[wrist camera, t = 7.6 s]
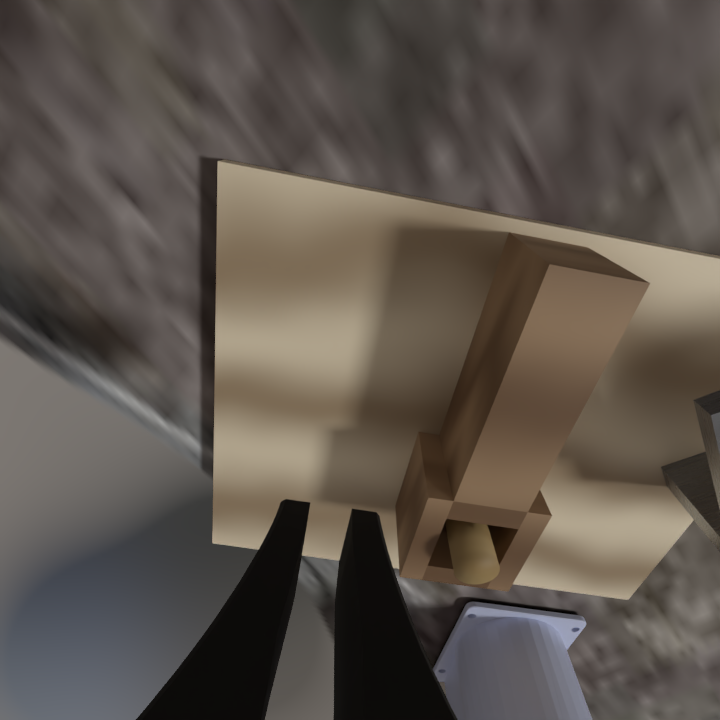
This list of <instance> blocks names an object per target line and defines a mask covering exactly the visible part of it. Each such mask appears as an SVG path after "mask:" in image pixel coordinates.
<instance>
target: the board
mask: <svg viewBox="0 0 720 720" xmlns="http://www.w3.org/2000/svg"><path fill="white" fill-rule="evenodd" d="M509 232H511V233H516V234H521V235H527V236H532V237H537V238H542V239H547V240H553V241H558V242H563V243H568V244H573V245H579V246H584V247H588V248H590V249H592V250H593V251H595V252H597V253H599V254H600V255H602V256H604V257H606V258H607V259H609V260H611V261H613V262H614V263H616V264H618V265H619V266H621V267H623V268H625V269H626V270H628V271H630V272H632V273H633V274H635V275H637V276H639V277H640V278H642V279H644V280H645V281H647V282H649V283H650V285H649V287H648V289H647V291H646V292H645V294H644V296H643V298H642V300H641V302H640V304H639V306H638V307H637V309H636V311H635V313H634V315H633V317H632V319H631V321H630V322H629V324H628V326H627V328H626V330H625V332H624V334H623V335H622V337H621V339H620V341H619V343H618V345H617V347H616V349H615V350H614V352H613V354H612V356H611V358H610V360H609V362H608V363H607V365H606V367H605V369H604V371H603V373H602V375H601V377H600V378H599V380H598V382H597V384H596V386H595V388H594V390H593V391H592V393H591V395H590V397H589V399H588V401H587V403H586V405H585V406H584V408H583V410H582V412H581V414H580V416H579V418H578V419H577V421H576V423H575V425H574V427H573V429H572V431H571V433H570V434H569V436H568V438H567V440H566V442H565V444H564V446H563V447H562V449H561V451H560V453H559V455H558V457H557V459H556V461H555V462H554V464H553V466H552V468H551V470H550V472H549V474H548V475H547V477H546V479H545V481H544V483H543V485H542V487H541V489H540V491H541V493H542V495H543V497H544V499H545V501H546V504H547V506H548V508H549V510H550V512H551V514H552V517H551V519H550V520H549V522H548V524H547V526H546V527H545V529H544V531H543V533H542V534H541V536H540V538H539V539H538V541H537V543H536V545H535V546H534V548H533V550H532V552H531V553H530V555H529V557H528V558H527V560H526V562H525V564H524V565H523V567H522V569H521V570H520V572H519V574H518V576H517V577H516V579H515V581H514V583H513V584H516V585H523V586H530V587H538V588H545V589H552V590H560V591H567V592H574V593H582V594H589V595H596V596H604V597H611V598H618V599H626V600H628V599H629V598H630V597H631V596H632V594H633V593H634V592H635V591H636V590H637V588H638V587H639V586H640V585H641V584H642V582H643V581H644V580H645V579H646V577H647V576H648V575H649V574H650V573H651V571H652V570H653V569H654V568H655V566H656V565H657V564H658V563H659V562H660V560H661V559H662V558H663V557H664V556H665V554H666V553H667V552H668V551H669V549H670V548H671V547H672V546H673V545H674V543H675V542H676V541H677V540H678V538H679V537H680V536H681V535H682V534H683V532H684V531H685V530H686V529H687V528H688V526H689V525H690V524H691V523H692V521H693V520H694V519H693V518H692V517H691V516H690V514H689V513H688V512H687V511H686V509H685V508H684V507H683V506H682V505H681V503H680V502H679V501H678V500H677V498H676V497H675V496H674V495H673V493H672V492H671V491H670V490H669V489H668V487H667V485H666V482H665V479H664V476H663V472H662V469H661V467H662V466H665V465H668V464H670V463H673V462H676V461H679V460H682V459H685V458H688V457H691V456H694V455H697V454H700V453H703V452H706V451H705V447H704V443H703V438H702V434H701V430H700V426H699V422H698V418H697V414H696V409H695V405H694V401H693V400H694V399H697V398H700V397H703V396H705V395H708V394H711V393H713V392H716V391H719V390H720V256H717V255H712V254H707V253H702V252H697V251H692V250H687V249H681V248H676V247H671V246H666V245H661V244H656V243H651V242H646V241H640V240H635V239H630V238H625V237H620V236H615V235H610V234H605V233H600V232H594V231H589V230H584V229H579V228H574V227H569V226H564V225H559V224H553V223H548V222H543V221H538V220H533V219H528V218H523V217H518V216H512V215H507V214H502V213H497V212H492V211H487V210H482V209H477V208H472V207H466V206H461V205H456V204H451V203H446V202H441V201H436V200H431V199H425V198H420V197H415V196H410V195H405V194H400V193H395V192H390V191H384V190H379V189H374V188H369V187H364V186H359V185H354V184H349V183H344V182H338V181H333V180H328V179H323V178H318V177H313V176H308V175H303V174H297V173H292V172H287V171H282V170H277V169H272V168H267V167H262V166H257V165H251V164H246V163H241V162H236V161H231V160H226V159H224V160H220V161H218V171H217V245H216V318H215V391H214V464H213V538H212V539H213V540H212V541H213V543H215V544H222V545H229V546H236V547H244V548H251V549H258V550H259V548H260V546H261V544H262V543H263V541H264V539H265V537H266V535H267V533H268V531H269V529H270V527H271V525H272V523H273V521H274V518H275V516H276V514H277V511H278V508H279V506H280V503H281V501H283V500H285V499H290V500H296V501H303V502H310V508H309V515H308V521H307V528H306V534H305V539H304V545H303V551H302V555H303V556H310V557H317V558H325V559H332V560H340V556H341V552H342V548H343V544H344V540H345V535H346V531H347V527H348V523H349V519H350V515H351V511H352V509H359V510H366V511H373V512H377V514H378V515H379V516H380V521H381V526H382V530H383V534H384V538H385V542H386V546H387V549H388V553H389V556H390V559H391V563H392V566H393V568H398V569H399V557H398V541H397V525H396V508H395V505H396V502H397V499H398V496H399V492H400V489H401V486H402V483H403V480H404V476H405V473H406V470H407V467H408V464H409V460H410V457H411V454H412V451H413V448H414V444H415V441H416V438H417V435H418V432H423V433H429V434H436V435H439V434H440V431H441V429H442V426H443V423H444V420H445V417H446V414H447V411H448V408H449V405H450V402H451V400H452V397H453V394H454V391H455V388H456V385H457V382H458V379H459V376H460V373H461V371H462V368H463V365H464V362H465V359H466V356H467V353H468V350H469V347H470V344H471V342H472V339H473V336H474V333H475V330H476V327H477V324H478V321H479V318H480V315H481V312H482V310H483V307H484V304H485V301H486V298H487V295H488V292H489V289H490V286H491V283H492V281H493V278H494V275H495V272H496V269H497V266H498V263H499V260H500V257H501V254H502V252H503V249H504V246H505V243H506V240H507V237H508V234H509ZM445 526H446V532H447V537H448V543H449V548H450V554H451V559H452V564H453V570H454V575H455V577H456V578H457V579H458V580H460V581H461V582H463V583H467V584H483V583H487V582H489V581H491V580H493V579H494V578H495V577H496V576H497V575H498V574H499V571H500V566H499V563H498V559H497V556H496V552H495V549H494V545H493V542H492V539H491V535H490V532H489V528H488V525H486V524H479V523H472V522H465V521H458V520H452V519H446V521H445Z"/></svg>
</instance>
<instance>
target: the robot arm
mask: <svg viewBox="0 0 720 720" xmlns="http://www.w3.org/2000/svg"><path fill="white" fill-rule="evenodd" d="M309 508H310V502H303V501H296V500H290V499H285V500H283V501H281V503H280V506H279V508H278V511H277V514H276V516H275V518H274V521H273V523H272V525H271V527H270V529H269V531H268V533H267V535H266V537H265V539H264V541H263V543H262V544H261V546H260V548H259V550H258V552H257V554H256V555H255V557H254V559H253V560H252V562H251V564H250V565H249V567H248V569H247V570H246V572H245V574H244V576H243V577H242V579H241V580H240V582H239V584H238V585H237V587H236V588H235V590H234V591H233V593H232V594H231V596H230V597H229V599H228V600H227V602H226V603H225V605H224V606H223V608H222V609H221V611H220V612H219V614H218V615H217V617H216V618H215V619H214V621H213V622H212V624H211V625H210V626H209V628H208V629H207V631H206V632H205V633H204V635H203V636H202V638H201V639H200V640H199V642H198V643H197V644H196V646H195V647H194V648H193V650H192V651H191V652H190V654H189V655H188V656H187V658H186V659H185V660H184V661H183V663H182V664H181V665H180V667H179V668H178V669H177V671H176V672H175V673H174V674H173V675H172V677H171V678H170V679H169V680H168V682H167V683H166V684H165V685H164V687H163V688H162V689H161V690H160V691H159V693H158V694H157V695H156V696H155V698H154V699H153V700H152V701H151V703H150V704H149V705H148V706H147V707H146V709H145V710H144V711H143V712H142V713H141V714H140V716H139V717H138V718H137V719H136V720H265V716H266V711H267V707H268V702H269V698H270V694H271V690H272V686H273V682H274V678H275V674H276V670H277V666H278V661H279V658H280V654H281V650H282V646H283V642H284V638H285V634H286V630H287V626H288V622H289V618H290V614H291V610H292V606H293V602H294V597H295V591H296V586H297V580H298V574H299V568H300V562H301V557H302V551H303V545H304V539H305V534H306V528H307V521H308V515H309ZM585 626H586V622H585V619H584V617H582V616H580V615H573V614H565V613H558V612H550V611H543V610H535V609H528V608H520V607H513V606H505V605H497V604H490V603H482V602H474V601H472V602H469V603H467V604H466V605H465V607H464V609H463V611H462V613H461V615H460V617H459V619H458V621H457V623H456V625H455V627H454V629H453V631H452V633H451V635H450V637H449V638H448V640H447V642H446V644H445V646H444V648H443V650H442V652H441V654H440V656H439V658H438V660H437V662H436V664H435V666H434V668H433V669H432V666H431V664H430V662H429V660H428V658H427V655H426V653H425V651H424V648H423V646H422V644H421V641H420V639H419V637H418V634H417V632H416V629H415V627H414V624H413V622H412V619H411V617H410V614H409V612H408V609H407V606H406V604H405V601H404V598H403V595H402V592H401V590H400V587H399V584H398V581H397V578H396V575H395V572H394V569H393V566H392V563H391V559H390V556H389V553H388V549H387V546H386V542H385V538H384V534H383V530H382V526H381V521H380V516H379V515H378V514H377V512H373V511H366V510H359V509H352V511H351V515H350V519H349V523H348V527H347V531H346V535H345V540H344V544H343V548H342V552H341V556H340V560H339V569H338V578H337V588H336V599H335V645H334V720H592V718H591V715H590V712H589V709H588V707H587V704H586V701H585V699H584V696H583V693H582V690H581V688H580V685H579V682H578V680H577V677H576V674H575V672H574V669H573V666H572V663H571V661H570V658H569V655H568V653H567V649H568V648H569V647H570V645H571V644H572V643H573V641H574V640H575V639H576V638H577V636H578V635H579V634H580V632H581V631H582V630H583V629H584V627H585ZM439 681H440V682H445V689H446V696H447V698H446V696H445V694H444V692H443V690H442V688H441V686H440V683H439Z"/></svg>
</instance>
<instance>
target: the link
mask: <svg viewBox="0 0 720 720" xmlns="http://www.w3.org/2000/svg"><path fill="white" fill-rule="evenodd" d="M649 285H650V283H649V282H647V281H645V280H644V279H642V278H640V277H639V276H637V275H635V274H633V273H632V272H630V271H628V270H626V269H625V268H623V267H621V266H619V265H618V264H616V263H614V262H613V261H611V260H609V259H607V258H606V257H604V256H602V255H600V254H599V253H597V252H595V251H593V250H592V249H590V248H588V247H584V246H579V245H573V244H568V243H563V242H558V241H553V240H547V239H542V238H537V237H532V236H527V235H521V234H516V233H511V232H509V234H508V237H507V240H506V243H505V246H504V249H503V252H502V254H501V257H500V260H499V263H498V266H497V269H496V272H495V275H494V278H493V281H492V283H491V286H490V289H489V292H488V295H487V298H486V301H485V304H484V307H483V310H482V312H481V315H480V318H479V321H478V324H477V327H476V330H475V333H474V336H473V339H472V342H471V344H470V347H469V350H468V353H467V356H466V359H465V362H464V365H463V368H462V371H461V373H460V376H459V379H458V382H457V385H456V388H455V391H454V394H453V397H452V400H451V402H450V405H449V408H448V411H447V414H446V417H445V420H444V423H443V426H442V429H441V431H440V434H439V435H436V434H429V433H423V432H418V435H417V438H416V441H415V444H414V448H413V451H412V454H411V457H410V460H409V464H408V467H407V470H406V473H405V476H404V480H403V483H402V486H401V489H400V492H399V496H398V499H397V502H396V505H395V508H396V525H397V541H398V557H399V573H400V577H405V578H412V579H420V580H427V581H434V582H442V583H449V584H457V585H464V586H472V587H479V588H486V589H494V590H501V591H509V589H510V588H511V586H512V584H513V583H514V581H515V579H516V577H517V576H518V574H519V572H520V570H521V569H522V567H523V565H524V564H525V562H526V560H527V558H528V557H529V555H530V553H531V552H532V550H533V548H534V546H535V545H536V543H537V541H538V539H539V538H540V536H541V534H542V533H543V531H544V529H545V527H546V526H547V524H548V522H549V520H550V519H551V517H552V514H551V512H550V510H549V508H548V506H547V504H546V501H545V499H544V497H543V495H542V493H541V491H540V489H541V487H542V485H543V483H544V481H545V479H546V477H547V475H548V474H549V472H550V470H551V468H552V466H553V464H554V462H555V461H556V459H557V457H558V455H559V453H560V451H561V449H562V447H563V446H564V444H565V442H566V440H567V438H568V436H569V434H570V433H571V431H572V429H573V427H574V425H575V423H576V421H577V419H578V418H579V416H580V414H581V412H582V410H583V408H584V406H585V405H586V403H587V401H588V399H589V397H590V395H591V393H592V391H593V390H594V388H595V386H596V384H597V382H598V380H599V378H600V377H601V375H602V373H603V371H604V369H605V367H606V365H607V363H608V362H609V360H610V358H611V356H612V354H613V352H614V350H615V349H616V347H617V345H618V343H619V341H620V339H621V337H622V335H623V334H624V332H625V330H626V328H627V326H628V324H629V322H630V321H631V319H632V317H633V315H634V313H635V311H636V309H637V307H638V306H639V304H640V302H641V300H642V298H643V296H644V294H645V292H646V291H647V289H648V287H649ZM446 519H452V520H458V521H465V522H472V523H479V524H486V525H488V528H489V532H490V535H491V539H492V542H493V545H494V549H495V552H496V556H497V559H498V563H499V566H500V571H499V574H498V575H497V576H496V577H495V578H494V579H493V580H491V581H489V582H487V583H483V584H467V583H463V582H461V581H460V580H458V579H457V578H456V577H455V575H454V570H453V564H452V559H451V554H450V548H449V543H448V537H447V532H446V526H445V521H446Z"/></svg>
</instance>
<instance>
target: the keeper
mask: <svg viewBox="0 0 720 720" xmlns="http://www.w3.org/2000/svg"><path fill="white" fill-rule="evenodd" d="M693 401H694V405H695V409H696V414H697V418H698V422H699V426H700V430H701V434H702V438H703V443H704V447H705V451H706V452H703V453H700V454H697V455H694V456H691V457H688V458H685V459H682V460H679V461H676V462H673V463H670V464H668V465H665V466H662V467H661V469H662V472H663V476H664V479H665V482H666V485H667V487H668V489H669V490H670V491H671V492H672V493H673V495H674V496H675V497H676V498H677V500H678V501H679V502H680V503H681V505H682V506H683V507H684V508H685V509H686V511H687V512H688V513H689V514H690V516H691V517H692V518H693V519H694V521H695V522H696V523H697V524H698V526H699V527H700V528H701V529H702V530H703V532H704V533H705V534H706V535H707V537H708V538H709V539H710V540H711V542H712V543H713V544H714V545H715V546H716V548H717V549H718V550H719V551H720V390H719V391H716V392H713V393H711V394H708V395H705V396H703V397H700V398H697V399H694V400H693Z"/></svg>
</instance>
